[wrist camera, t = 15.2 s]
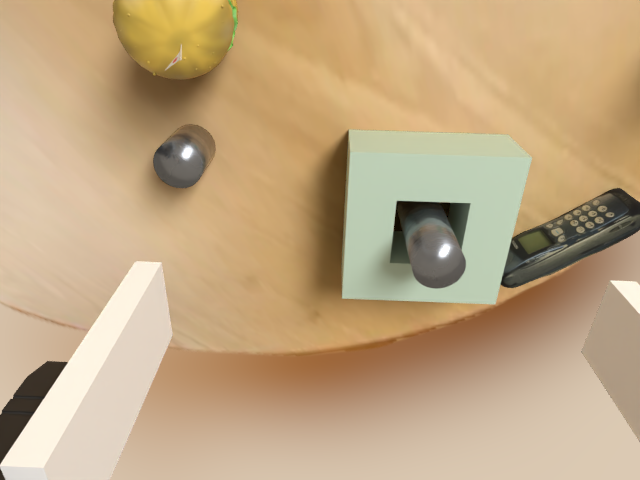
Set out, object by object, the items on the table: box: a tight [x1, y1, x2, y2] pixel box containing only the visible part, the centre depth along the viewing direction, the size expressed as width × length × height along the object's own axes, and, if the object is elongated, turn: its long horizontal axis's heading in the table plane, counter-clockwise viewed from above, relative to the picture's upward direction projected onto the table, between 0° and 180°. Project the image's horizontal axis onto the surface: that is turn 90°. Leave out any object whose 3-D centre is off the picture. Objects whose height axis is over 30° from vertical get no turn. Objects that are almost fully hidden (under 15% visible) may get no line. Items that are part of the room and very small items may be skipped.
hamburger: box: [113, 0, 238, 80], centre depth 33 cm, size 8×7×12 cm
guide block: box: [342, 130, 532, 304], centre depth 43 cm, size 14×14×6 cm
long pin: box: [397, 201, 466, 289], centre depth 41 cm, size 4×4×11 cm
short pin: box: [153, 124, 216, 188], centre depth 42 cm, size 4×4×5 cm
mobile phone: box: [501, 188, 640, 288], centre depth 45 cm, size 5×3×15 cm
